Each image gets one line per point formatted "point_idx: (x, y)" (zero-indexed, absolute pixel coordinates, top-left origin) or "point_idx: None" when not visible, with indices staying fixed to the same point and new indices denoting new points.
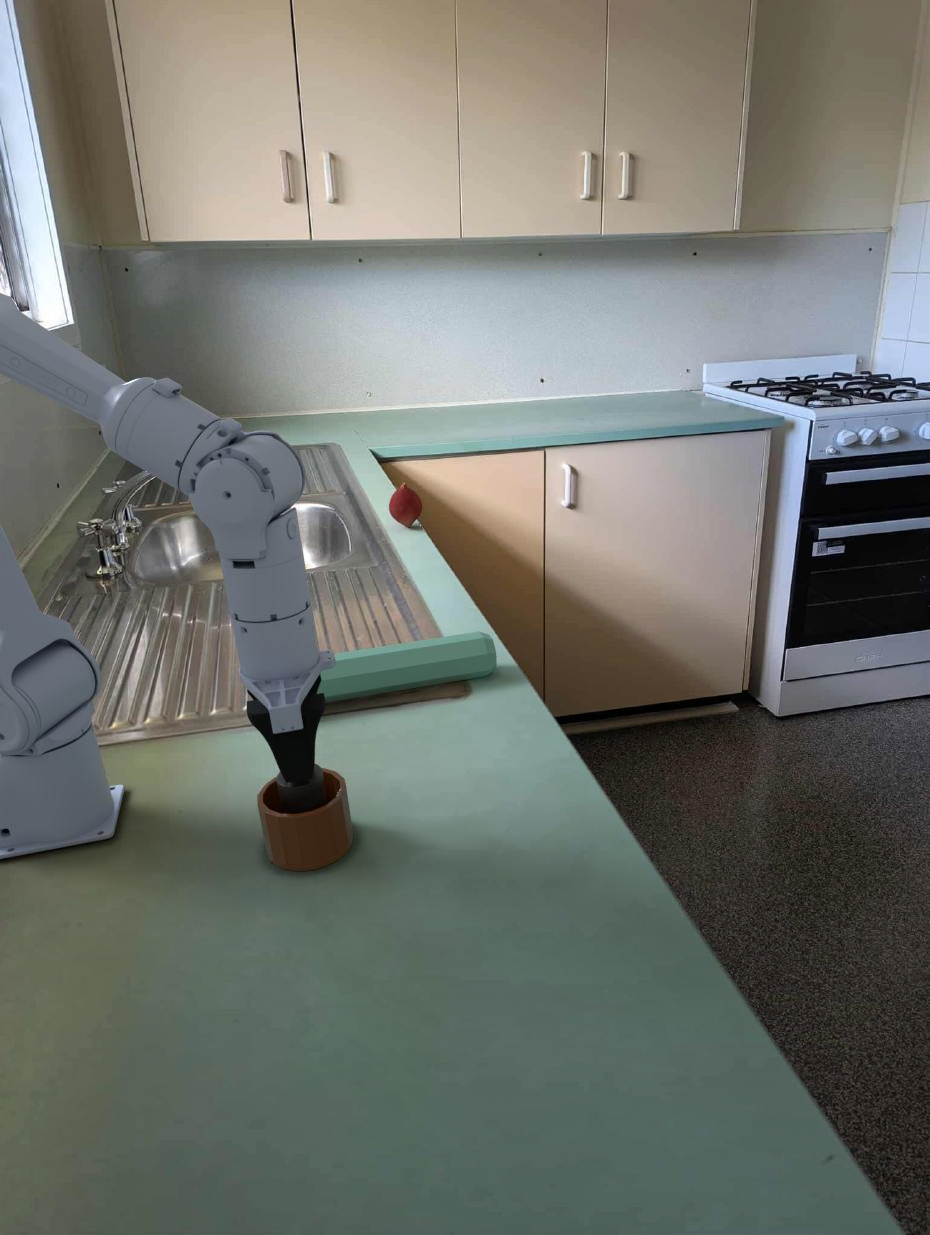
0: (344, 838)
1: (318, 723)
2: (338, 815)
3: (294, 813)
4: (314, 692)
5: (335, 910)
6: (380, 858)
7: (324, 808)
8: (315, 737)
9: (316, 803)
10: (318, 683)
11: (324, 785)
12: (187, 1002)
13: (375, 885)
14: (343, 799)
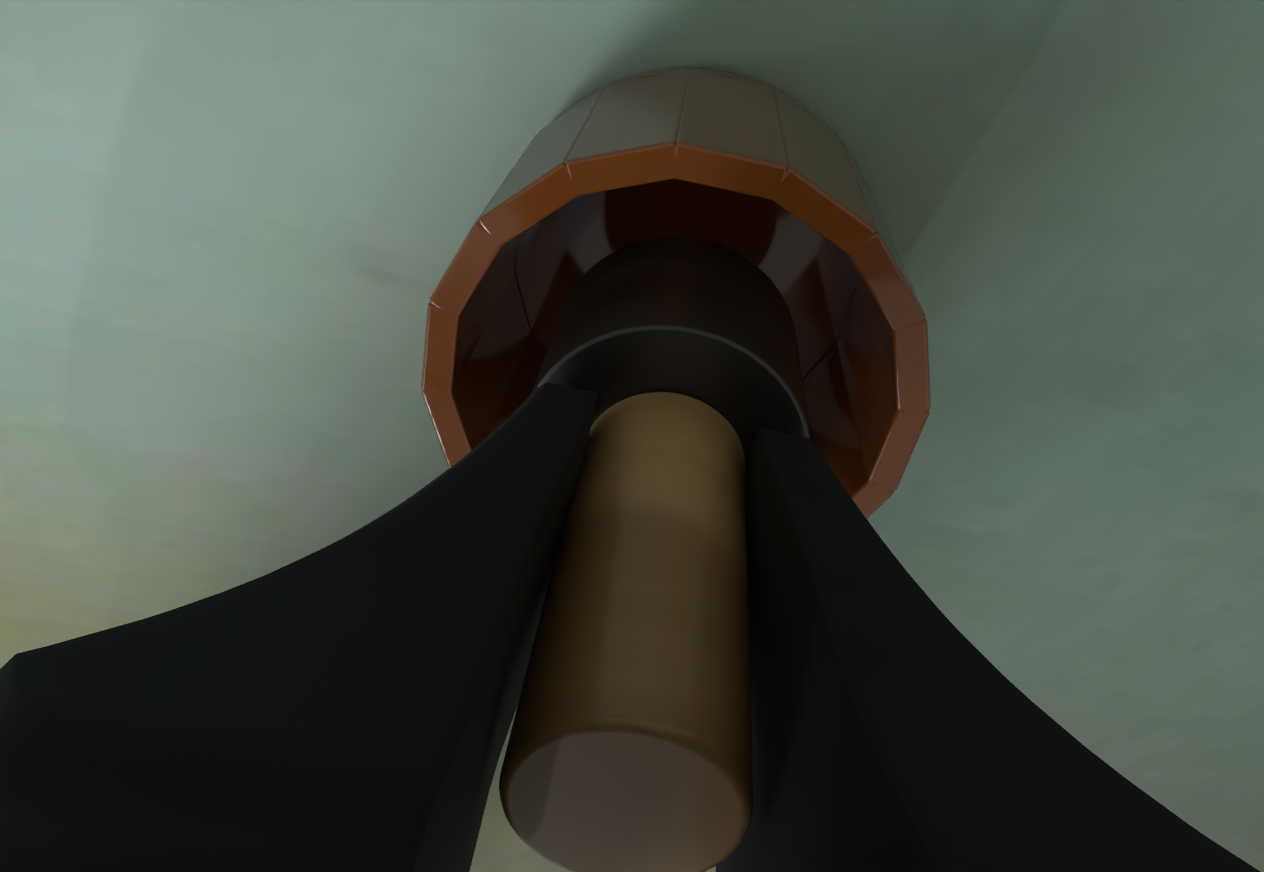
0: (856, 170)
1: (1126, 784)
2: (886, 236)
3: None
4: (468, 726)
5: (1165, 305)
6: (989, 7)
7: (921, 349)
8: (974, 649)
9: (795, 348)
10: (442, 790)
11: (728, 299)
12: (1186, 734)
13: (1154, 104)
14: (851, 202)
